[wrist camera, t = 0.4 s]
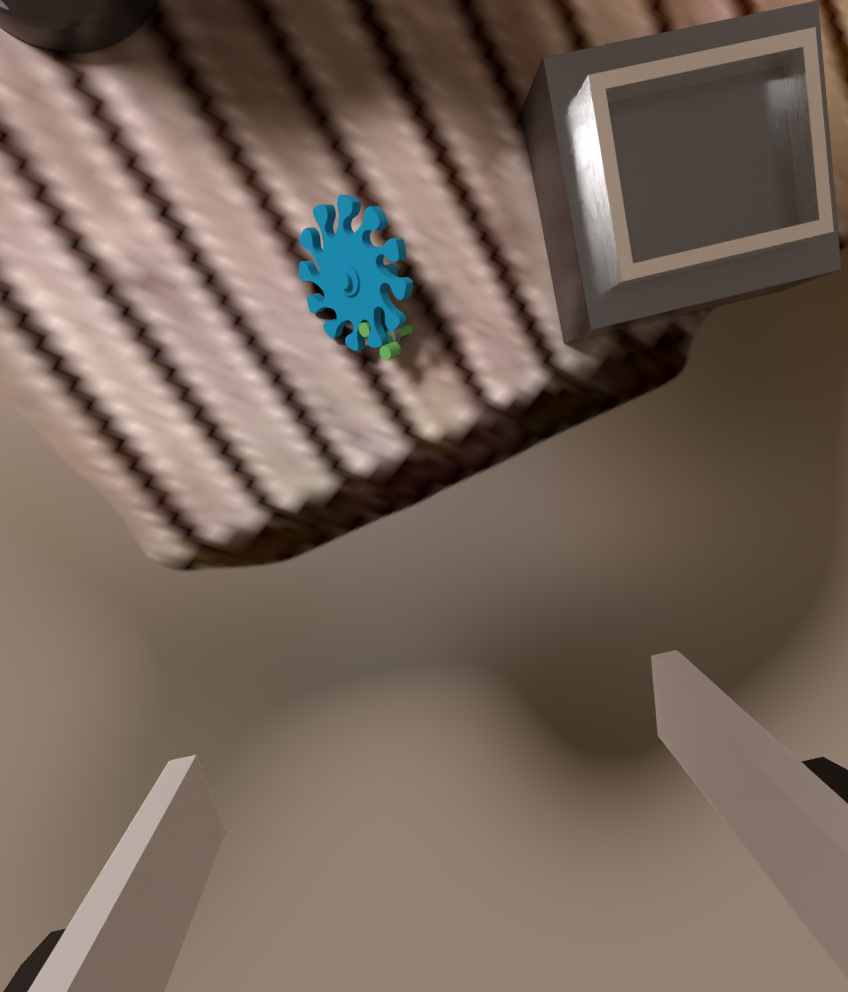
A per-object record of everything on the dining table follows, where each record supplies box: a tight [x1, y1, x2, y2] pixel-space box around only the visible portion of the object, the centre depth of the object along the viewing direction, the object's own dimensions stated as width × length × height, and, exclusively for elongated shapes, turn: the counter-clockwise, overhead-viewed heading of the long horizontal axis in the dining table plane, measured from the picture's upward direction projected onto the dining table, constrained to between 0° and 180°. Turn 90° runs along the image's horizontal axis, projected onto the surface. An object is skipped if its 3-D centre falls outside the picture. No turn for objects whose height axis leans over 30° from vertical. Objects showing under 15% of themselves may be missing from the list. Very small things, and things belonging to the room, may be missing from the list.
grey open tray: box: [521, 1, 841, 343], centre depth 33 cm, size 18×20×6 cm
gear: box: [299, 195, 413, 360], centre depth 33 cm, size 11×6×10 cm
